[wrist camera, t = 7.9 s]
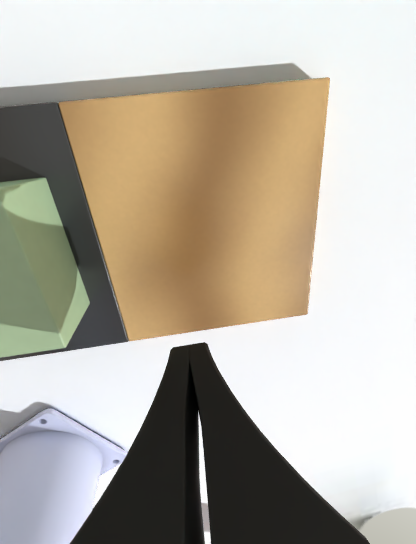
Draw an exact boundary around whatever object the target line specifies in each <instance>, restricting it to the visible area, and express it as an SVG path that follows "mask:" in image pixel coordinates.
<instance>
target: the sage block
mask: <svg viewBox="0 0 416 544" xmlns="http://www.w3.org/2000/svg"><path fill="white" fill-rule="evenodd" d="M89 304H90V301H89V298H88V296H87V293H86V290H85V287H84V284H83V281H82V279H81V276H80V273H79V270H78V267H77V264H76V262H75V259H74V256H73V253H72V250H71V247H70V245H69V242H68V239H67V236H66V233H65V231H64V228H63V225H62V222H61V219H60V216H59V214H58V211H57V208H56V205H55V202H54V199H53V197H52V194H51V191H50V188H49V185H48V182H47V180H46V178H44V177H43V178H33V179H24V180H15V181H6V182H0V358H1V357H8V356H15V355H21V354H28V353H35V352H41V351H48V350H55V349H61V348H66V346H67V344H68V343H69V341H70V339H71V337H72V335H73V333H74V332H75V330H76V328H77V326H78V324H79V322H80V320H81V319H82V317H83V315H84V313H85V311H86V309H87V308H88V306H89Z"/></svg>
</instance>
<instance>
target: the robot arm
mask: <svg viewBox="0 0 416 544" xmlns="http://www.w3.org/2000/svg"><path fill="white" fill-rule="evenodd" d="M198 411H199V416H200V421H201V426H202V437H203V448H204V460H205V472H206V484H207V496H208V509H209V521H210V534H211V544H370V543H369V542H368V540H367V539H366V538H365V537H364V536H363V535H362V534H361V533H360V532H359V531H358V530H357V529H356V528H355V527H354V526H352V525H351V524H350V523H349V522H348V521H347V520H346V519H345V518H344V517H343V516H342V515H340V514H339V513H338V512H337V511H336V510H335V509H334V508H333V507H332V506H331V505H330V504H329V503H328V502H327V501H326V500H325V499H323V498H322V497H321V496H320V495H319V494H318V493H317V492H316V491H315V490H314V489H313V488H312V487H311V486H310V485H309V484H308V483H307V482H306V481H305V480H304V479H303V478H302V477H301V476H300V474H299V473H298V472H297V471H296V470H295V469H294V468H293V467H292V466H291V465H290V464H289V463H288V462H287V460H286V459H285V458H284V457H283V456H282V455H281V454H280V453H279V452H278V451H277V450H276V449H275V448H274V446H273V445H272V444H271V443H270V442H269V440H268V439H267V438H266V437H265V436H264V435H263V433H262V432H261V431H260V430H259V428H258V427H257V426H256V425H255V423H254V422H253V421H252V420H251V418H250V417H249V416H248V414H247V413H246V412H245V410H244V409H243V408H242V406H241V405H240V403H239V402H238V400H237V399H236V398H235V396H234V395H233V393H232V392H231V390H230V388H229V387H228V385H227V384H226V382H225V380H224V379H223V377H222V375H221V373H220V372H219V370H218V368H217V366H216V364H215V362H214V360H213V358H212V356H211V353H210V351H209V348H208V344H206V343H205V342H204V343H198V344H192V345H185V346H179V347H173V348H172V349H171V351H170V355H169V359H168V363H167V366H166V369H165V372H164V375H163V378H162V381H161V383H160V386H159V388H158V391H157V393H156V396H155V398H154V401H153V403H152V405H151V407H150V410H149V412H148V414H147V416H146V418H145V420H144V423H143V425H142V427H141V429H140V431H139V433H138V435H137V437H136V438H135V440H134V442H133V444H132V446H131V448H130V450H129V451H128V453H127V452H126V451H125V450H123V449H121V448H120V447H118V446H116V445H114V444H113V443H111V442H109V441H108V440H106V439H104V438H102V437H101V436H99V435H97V434H96V433H94V432H92V431H90V430H89V429H87V428H85V427H84V426H82V425H80V424H78V423H77V422H75V421H73V420H72V419H70V418H68V417H66V416H65V415H63V414H61V413H60V412H58V411H56V410H54V409H50V408H49V409H45V410H43V411H42V412H40V413H39V414H37V415H36V416H34V417H33V418H31V419H30V420H28V421H27V422H25V423H24V424H22V425H21V426H19V427H18V428H17V429H15V430H14V431H12V432H11V433H9V434H8V435H6V436H5V437H3V438H2V439H0V544H205V541H204V530H203V519H202V508H201V497H200V480H199V425H198ZM121 463H122V464H121ZM119 464H121V465H120V467H119V469H118V470H117V472H116V474H115V475H114V477H113V479H112V481H111V482H110V484H109V485H108V487H107V489H106V490H105V492H104V493H103V495H102V496H101V498H100V500H99V501H98V503H97V504H96V505H95V507H94V508H93V510H92V507H93V503H94V498H95V494H96V489H97V485H98V481H99V476H100V475H102V474H103V473H105V472H107V471H109V470H110V469H112V468H114V467H116V466H117V465H119Z"/></svg>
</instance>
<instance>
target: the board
mask: <svg viewBox="0 0 416 544" xmlns="http://www.w3.org/2000/svg"><path fill="white" fill-rule="evenodd" d="M329 83H330V78H328V77H325V78H314V79H303V80H292V81H281V82H270V83H259V84H248V85H237V86H227V87H216V88H205V89H194V90H183V91H172V92H161V93H150V94H139V95H128V96H117V97H106V98H95V99H84V100H73V101H63V102H59V103H57V102H50V103H39V104H28V105H17V106H7V107H0V182H6V181H15V180H24V179H33V178H43V177H44V178H46V180H47V182H48V185H49V188H50V191H51V194H52V197H53V199H54V202H55V205H56V208H57V211H58V214H59V216H60V219H61V222H62V225H63V228H64V231H65V233H66V236H67V239H68V242H69V245H70V247H71V250H72V253H73V256H74V259H75V262H76V264H77V267H78V270H79V273H80V276H81V279H82V281H83V284H84V287H85V290H86V293H87V296H88V298H89V301H90V304H89V306H88V308H87V309H86V311H85V313H84V315H83V317H82V319H81V320H80V322H79V324H78V326H77V328H76V330H75V332H74V333H73V335H72V337H71V339H70V341H69V343H68V344H67V346H66V348H61V349H55V350H48V351H41V352H35V353H28V354H21V355H15V356H8V357H1V358H0V361H4V360H10V359H17V358H23V357H30V356H37V355H43V354H50V353H57V352H63V351H70V350H76V349H83V348H90V347H96V346H103V345H109V344H116V343H123V342H128V341H135V340H141V339H148V338H155V337H161V336H168V335H174V334H181V333H188V332H194V331H201V330H207V329H214V328H221V327H227V326H234V325H240V324H247V323H254V322H260V321H267V320H274V319H280V318H287V317H293V316H300V315H306V314H308V303H309V293H310V282H311V272H312V261H313V251H314V240H315V230H316V220H317V209H318V199H319V188H320V178H321V167H322V157H323V146H324V136H325V125H326V115H327V104H328V94H329Z"/></svg>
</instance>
